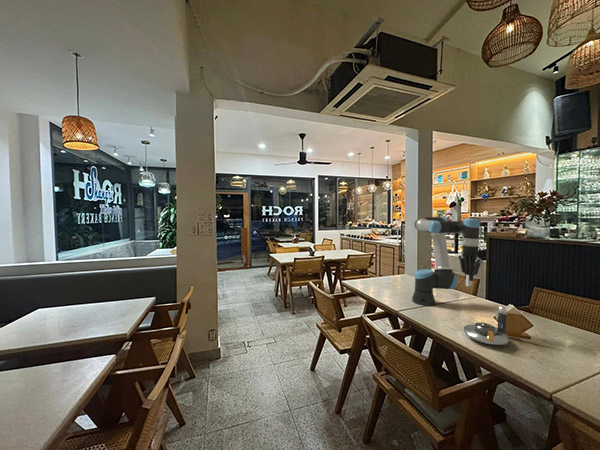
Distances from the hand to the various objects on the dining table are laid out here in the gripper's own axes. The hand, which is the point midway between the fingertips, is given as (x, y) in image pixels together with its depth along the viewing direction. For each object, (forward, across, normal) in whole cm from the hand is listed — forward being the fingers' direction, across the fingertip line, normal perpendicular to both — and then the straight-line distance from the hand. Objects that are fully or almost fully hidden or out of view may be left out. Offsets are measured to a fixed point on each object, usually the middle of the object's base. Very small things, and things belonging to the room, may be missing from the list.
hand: (468, 285), depth 137 cm
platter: (+20, +16, -8) cm, 27 cm away
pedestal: (+22, +16, -8) cm, 29 cm away
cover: (+19, +16, -8) cm, 26 cm away
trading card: (+23, +2, -7) cm, 24 cm away
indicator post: (+22, +16, +2) cm, 28 cm away
